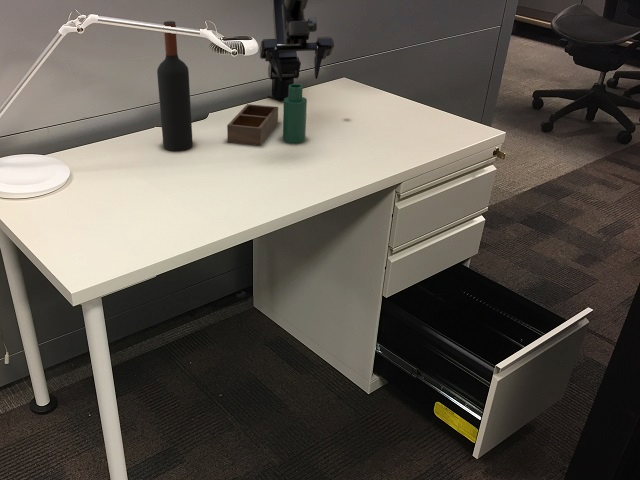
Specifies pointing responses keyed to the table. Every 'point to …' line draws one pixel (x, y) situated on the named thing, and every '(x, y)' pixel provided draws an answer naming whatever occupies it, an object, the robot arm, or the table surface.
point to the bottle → (294, 115)
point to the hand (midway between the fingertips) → (299, 79)
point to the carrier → (252, 124)
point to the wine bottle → (174, 97)
